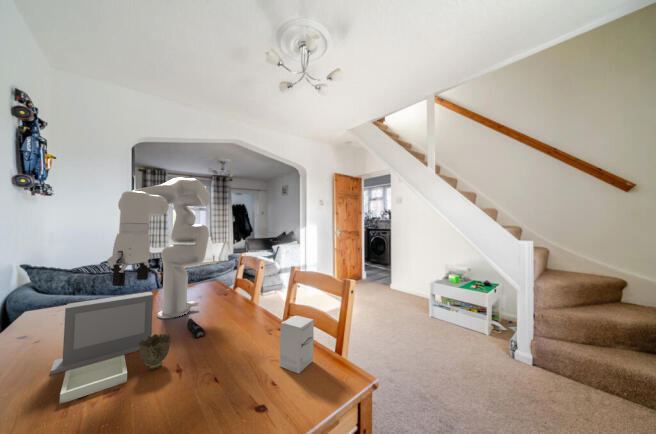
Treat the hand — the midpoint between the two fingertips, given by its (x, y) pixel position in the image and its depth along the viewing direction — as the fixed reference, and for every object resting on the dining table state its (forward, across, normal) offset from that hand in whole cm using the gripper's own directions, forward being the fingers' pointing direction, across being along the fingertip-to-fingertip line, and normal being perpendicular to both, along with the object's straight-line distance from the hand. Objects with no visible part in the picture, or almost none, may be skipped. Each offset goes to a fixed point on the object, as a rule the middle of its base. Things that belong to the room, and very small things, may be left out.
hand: (131, 282), depth 76 cm
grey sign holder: (+22, 0, -5) cm, 23 cm away
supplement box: (+23, +7, +54) cm, 59 cm away
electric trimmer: (+22, -16, +13) cm, 30 cm away
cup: (+23, +8, +14) cm, 28 cm away
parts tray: (+22, +13, +3) cm, 26 cm away
